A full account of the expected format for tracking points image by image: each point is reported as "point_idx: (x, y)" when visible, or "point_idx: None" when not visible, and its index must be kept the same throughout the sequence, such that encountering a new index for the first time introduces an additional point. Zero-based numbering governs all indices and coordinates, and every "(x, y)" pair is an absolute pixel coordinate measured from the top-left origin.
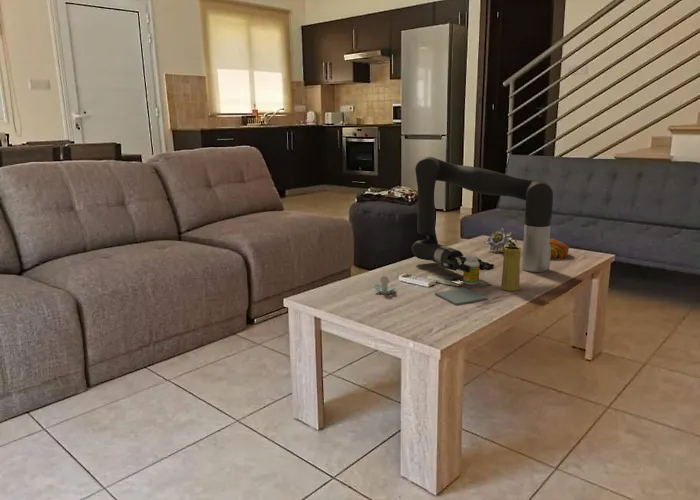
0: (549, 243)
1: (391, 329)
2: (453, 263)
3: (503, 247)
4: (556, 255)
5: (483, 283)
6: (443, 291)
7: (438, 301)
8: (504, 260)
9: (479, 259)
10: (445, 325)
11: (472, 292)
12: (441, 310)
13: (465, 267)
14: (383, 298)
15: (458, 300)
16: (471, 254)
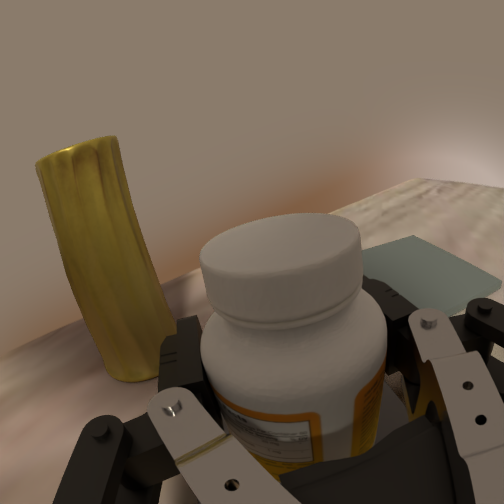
0: None
1: (493, 189)
2: (499, 307)
3: None
4: None
5: (225, 429)
6: (476, 294)
7: (467, 252)
8: (129, 208)
9: (97, 435)
10: (420, 197)
11: None
12: (443, 223)
13: (376, 280)
14: None
15: (407, 246)
16: (252, 270)
